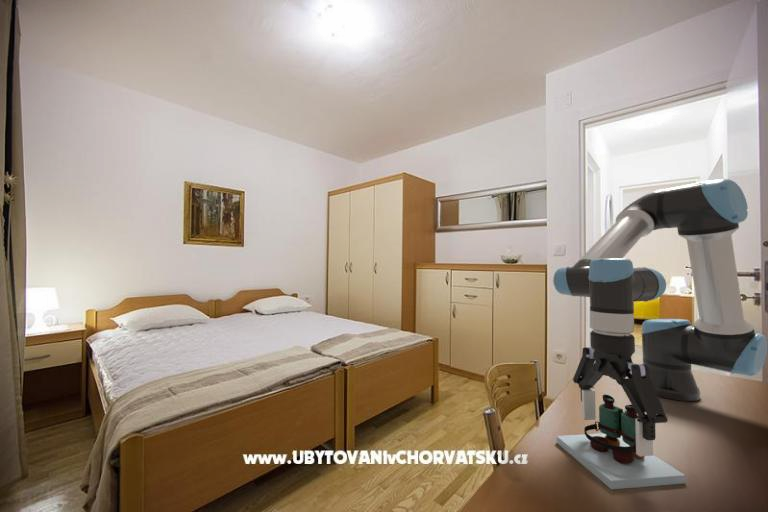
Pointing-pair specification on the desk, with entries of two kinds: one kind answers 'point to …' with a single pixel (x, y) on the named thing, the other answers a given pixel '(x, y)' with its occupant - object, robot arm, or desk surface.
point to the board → (620, 465)
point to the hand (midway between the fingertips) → (613, 435)
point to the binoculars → (615, 431)
